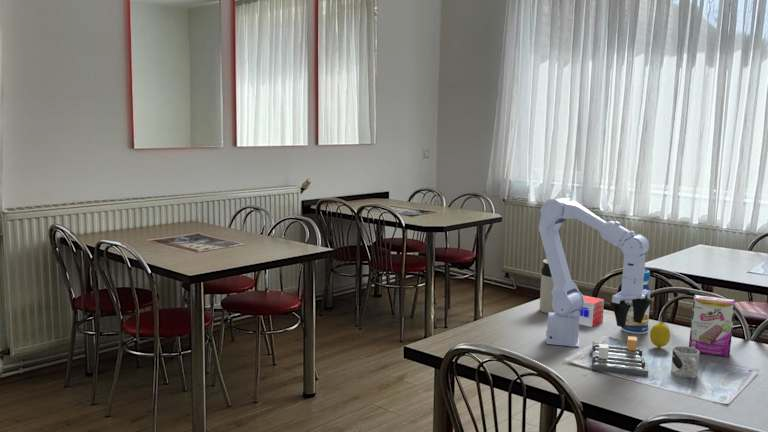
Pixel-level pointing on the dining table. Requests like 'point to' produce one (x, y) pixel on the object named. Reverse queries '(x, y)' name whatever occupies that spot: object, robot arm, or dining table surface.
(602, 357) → the block
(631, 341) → the block
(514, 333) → the dining table surface
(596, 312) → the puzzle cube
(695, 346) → the candy bar box
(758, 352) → the dining table surface
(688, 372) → the mug
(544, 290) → the travel mug
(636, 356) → the console
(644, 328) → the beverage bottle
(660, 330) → the lemon
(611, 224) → the robot arm
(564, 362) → the dining table surface
